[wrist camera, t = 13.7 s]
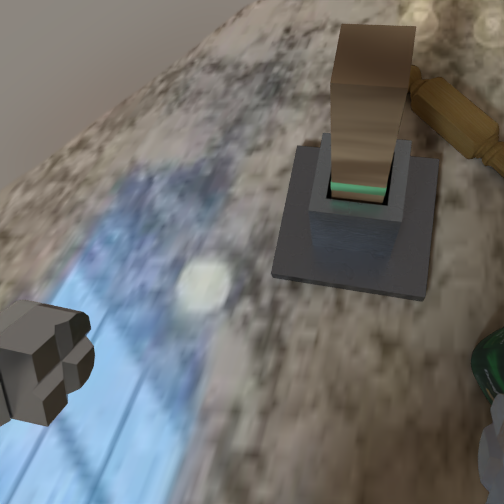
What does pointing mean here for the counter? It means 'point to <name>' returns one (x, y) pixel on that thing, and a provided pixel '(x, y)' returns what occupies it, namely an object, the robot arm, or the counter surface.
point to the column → (367, 107)
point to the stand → (358, 227)
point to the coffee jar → (490, 364)
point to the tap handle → (456, 119)
